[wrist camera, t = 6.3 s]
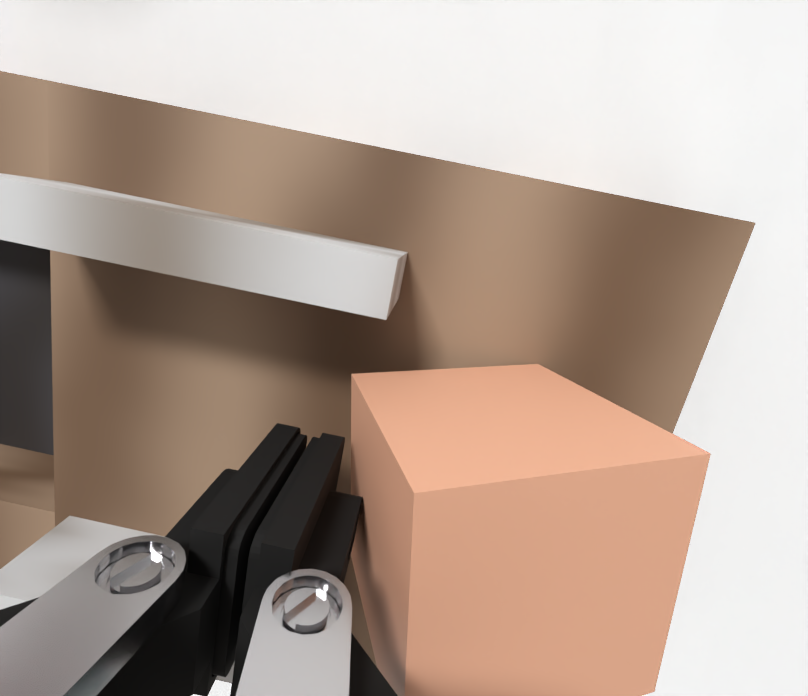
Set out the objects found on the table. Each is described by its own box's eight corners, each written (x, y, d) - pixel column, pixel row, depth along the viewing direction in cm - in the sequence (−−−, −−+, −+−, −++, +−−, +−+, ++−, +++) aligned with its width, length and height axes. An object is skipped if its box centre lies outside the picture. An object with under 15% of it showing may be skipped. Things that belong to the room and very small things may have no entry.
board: (686, 224, 13) (877, 219, 8) (541, 633, 18) (593, 830, 12) (-71, 72, 14) (-437, -44, 8) (-36, 506, 18) (-260, 635, 12)
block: (537, 363, 12) (710, 453, 7) (518, 525, 13) (654, 692, 8) (351, 373, 10) (414, 493, 6) (350, 553, 12) (400, 770, 7)
